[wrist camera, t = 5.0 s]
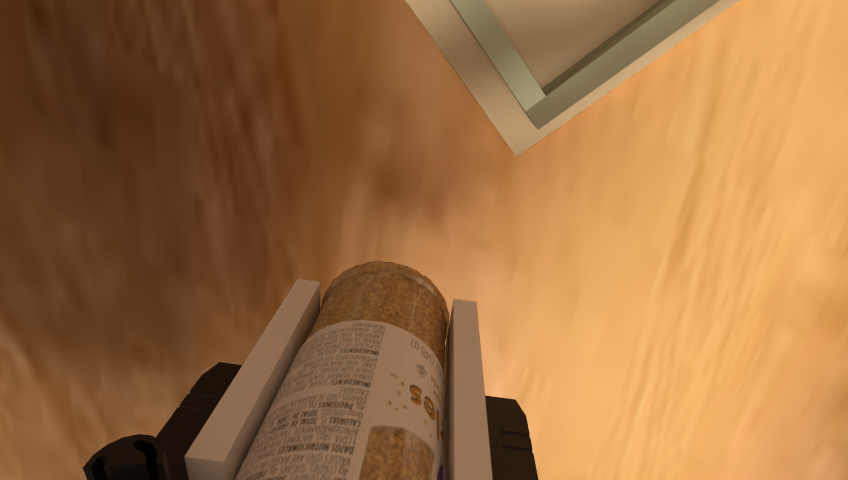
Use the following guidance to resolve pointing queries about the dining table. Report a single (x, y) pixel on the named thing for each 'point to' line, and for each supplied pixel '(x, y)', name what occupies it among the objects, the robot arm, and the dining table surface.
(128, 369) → the dining table surface
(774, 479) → the dining table surface
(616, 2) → the board
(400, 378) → the sprinkles bottle
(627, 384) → the dining table surface
